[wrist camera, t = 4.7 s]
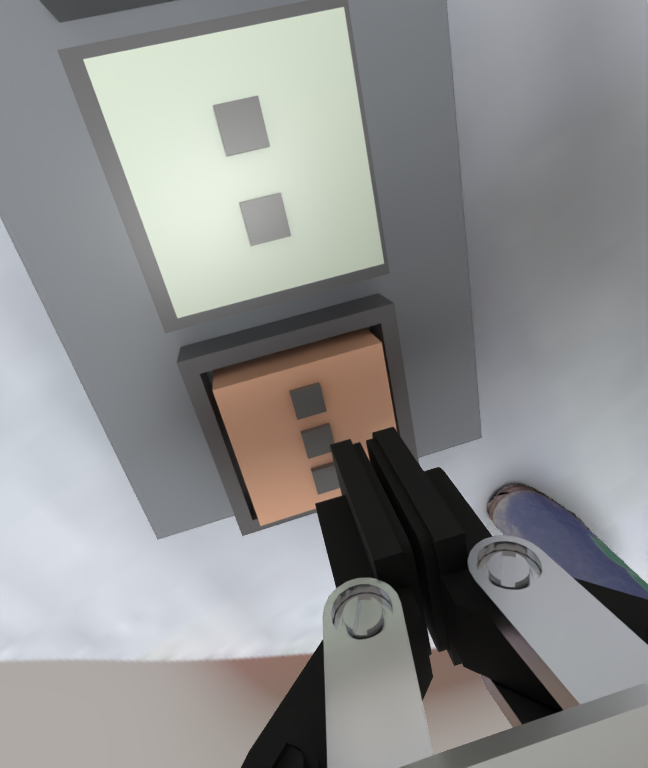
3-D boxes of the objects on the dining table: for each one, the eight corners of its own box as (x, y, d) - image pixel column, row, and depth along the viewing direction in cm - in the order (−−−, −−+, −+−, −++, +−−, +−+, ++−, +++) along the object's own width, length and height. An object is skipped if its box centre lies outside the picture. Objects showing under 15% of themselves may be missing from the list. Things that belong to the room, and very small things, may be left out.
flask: (475, 509, 22) (682, 762, 12) (519, 465, 21) (771, 691, 12) (572, 584, 26) (790, 823, 16) (612, 548, 25) (862, 771, 15)
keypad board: (382, -402, 10) (440, -609, 8) (463, 420, 20) (502, 457, 17) (-235, -337, 9) (-428, -561, 6) (162, 513, 18) (152, 570, 16)
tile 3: (361, 324, 15) (383, 344, 13) (385, 449, 17) (407, 483, 15) (213, 366, 15) (212, 393, 13) (256, 490, 17) (261, 529, 15)
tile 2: (322, 38, 11) (346, 2, 9) (360, 253, 13) (386, 264, 11) (107, 83, 10) (80, 56, 8) (183, 299, 12) (176, 320, 10)
